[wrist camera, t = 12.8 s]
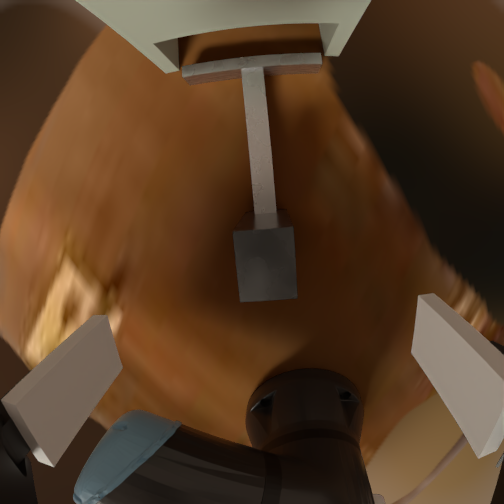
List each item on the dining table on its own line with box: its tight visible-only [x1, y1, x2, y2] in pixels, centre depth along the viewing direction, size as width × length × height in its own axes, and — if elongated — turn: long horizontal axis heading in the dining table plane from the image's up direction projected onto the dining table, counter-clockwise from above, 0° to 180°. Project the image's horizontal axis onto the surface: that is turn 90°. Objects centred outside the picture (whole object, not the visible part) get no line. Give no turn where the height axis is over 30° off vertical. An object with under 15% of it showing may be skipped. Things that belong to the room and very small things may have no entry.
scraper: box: [182, 53, 322, 302], centre depth 25 cm, size 20×13×11 cm, turn 5°
